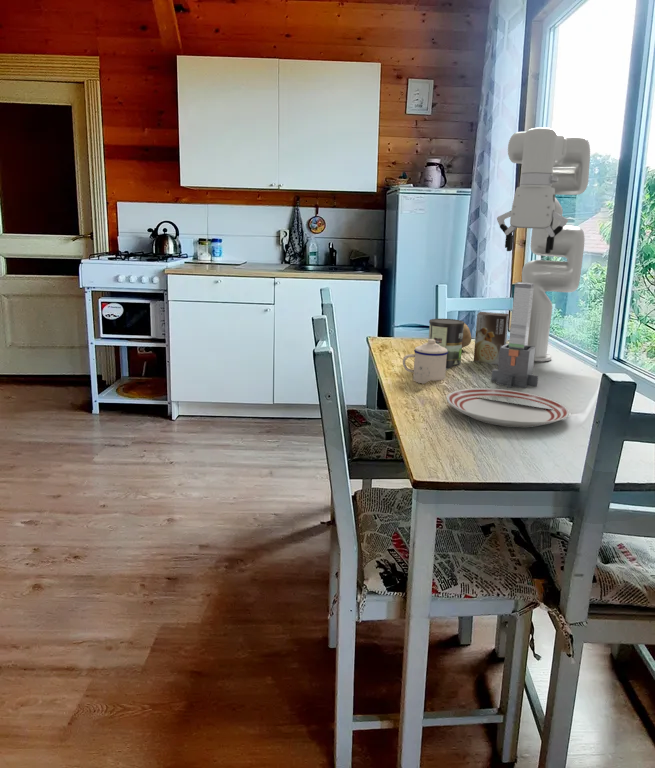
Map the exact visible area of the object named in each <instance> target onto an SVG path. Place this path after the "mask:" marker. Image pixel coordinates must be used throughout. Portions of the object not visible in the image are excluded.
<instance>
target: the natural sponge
mask: <svg viewBox="0 0 655 768" xmlns="http://www.w3.org/2000/svg"><path fill="white" fill-rule="evenodd" d="M471 341H472V334H471V330H470V327H468V325H467V324H466V323H465V322H464V328H463V341H462V349H464V348H465V347H467V346H469V345H470V344H471Z"/></svg>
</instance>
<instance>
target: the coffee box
mask: <svg viewBox="0 0 655 768" xmlns="http://www.w3.org/2000/svg"><path fill="white" fill-rule="evenodd" d="M509 318H510V314H509V313H503V312H502V313H501V312H488V311H479V312H477V314H476V324H475V336H474V337H475V339H474V351H473V362H476V363H480V364H482V363H483V364H491V365H497V366H498V363H499V353H500V347H502V346H503V345H505V344H506V343H507V342H508V341H507V340H508V328H509Z"/></svg>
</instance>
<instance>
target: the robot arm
mask: <svg viewBox="0 0 655 768" xmlns="http://www.w3.org/2000/svg"><path fill="white" fill-rule="evenodd" d="M590 148H591V147H590V142H589V140H588V138H586V137H585V136H583V135H567V136H566V135H564V133H562V132H561V131H556V130H555V128H550V127H534V128H530V129H528V130H526V131H517V132H514V133H513V134H512V135H511V136H510V138H509V141H508V145H507V155H508V159H509V160H510V162H511V163H512V164H521V169H520V179H519V186H517V187H516V190H515V192H514V196H513V201H512V206H511V210H510V211H508V212H505V213H503V214H501V215H499V216H497V217H496V221H497V223H498V225H499V228H500V229H501V230H502V232H503V233H504V235H505V242H504V243H505V244H504V248H506V251H507V252H511V251H513V243H514V234H513V233H514V232H515V231H516V230H517V229H531V235H530V250H531V252H532V254H534V255H537V256H540V257H542V256H543V257H558V258H565V259H566V260H567V261H565V260H564V261H563V260H562V261H561V260H555V261H554V260H548V259H547V260H545V259H533V260H530V261H527V262H526V263H525V264H524V265H523V267H522V270H521V271H522V272H521V282H523V283H534V291H533V299H532V308H531V317H530V326H529V335H528V344H527V346H535V355H534V363H536V362H537V363H538V362H540V363H542V362H549V361H552V355H551V354H549V353H548V346H549V340H550V339H549V338H550V331H551V321H552V313H553V303H552V301H551V299H550V297H549V296H548V295H547V293H546V292H557V293H573V292H576V291H577V289H578V288H579V285H580V281H581V274H582V267H583V266H582V265H583V259H584V249H585V241H586V240H585V239H586V238H585V233H584V230H583V229H582V228H581V227H579V226H576V225H575V226H574V225H567V223H569V219H568V218H567V217H565V216H563V206H562V205H561V203H560V201H559V200H558V199H557V197H556V195H558V196H559V195H561V196H562V195H563V196H564V195H565V196H577V195H581V194H583V193H584V192H585V191H586V190H587V188H588V184H589V177H590V163H591V162H590V161H591V149H590ZM509 218H510V219H509ZM507 219H509V226H507V225H506V223H505V221H506V220H507Z"/></svg>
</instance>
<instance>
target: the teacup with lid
mask: <svg viewBox="0 0 655 768" xmlns="http://www.w3.org/2000/svg"><path fill="white" fill-rule="evenodd" d="M413 352H414V354H411V353H410V354H406V355H405V356H404V357H403V359H402V366H403V368H404V370H406V372H409V373H413V377H412V378H413V379H412V380H413V381H414V382H415V381H416V382H415V383H417V382H418V383H417V384H420V383H422V385H425V384H426V383H428V382H430V381H442V380H445V378H446V371H447V370H446V359H447V354H448V351H447V349H446V348H444V347H441V346H440V345H439V344H436V343H435V340H434V339H429V338H428V340H427V342H425V343H422V344H421V345H418V346H416V347H414V349H413ZM409 358H414V363H413V369H411V368H408V366H407V365H406V360H407V359H409Z"/></svg>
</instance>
